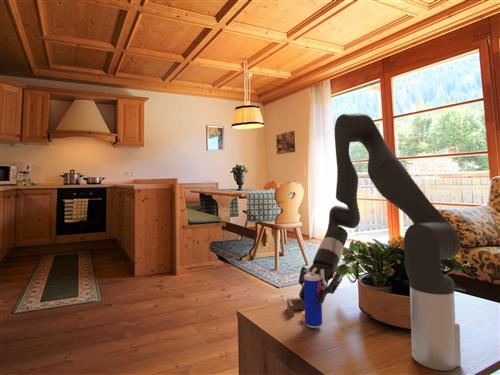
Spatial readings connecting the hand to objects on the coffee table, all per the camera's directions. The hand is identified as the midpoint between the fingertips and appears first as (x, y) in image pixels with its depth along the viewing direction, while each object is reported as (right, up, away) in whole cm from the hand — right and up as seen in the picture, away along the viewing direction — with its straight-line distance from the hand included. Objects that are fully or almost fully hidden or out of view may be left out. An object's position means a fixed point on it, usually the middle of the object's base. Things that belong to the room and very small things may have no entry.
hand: (309, 301), depth 90 cm
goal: (0, -9, +13) cm, 16 cm away
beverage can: (+1, -8, +1) cm, 8 cm away
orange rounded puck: (+1, -9, +6) cm, 11 cm away
